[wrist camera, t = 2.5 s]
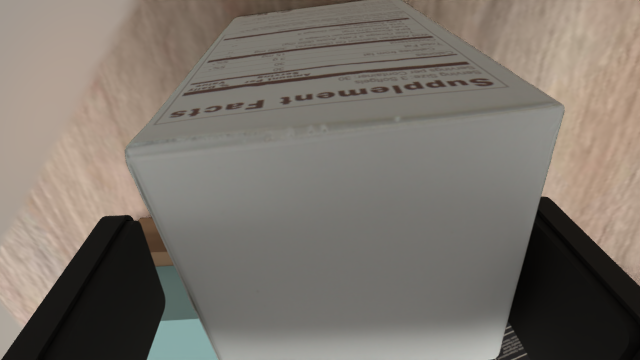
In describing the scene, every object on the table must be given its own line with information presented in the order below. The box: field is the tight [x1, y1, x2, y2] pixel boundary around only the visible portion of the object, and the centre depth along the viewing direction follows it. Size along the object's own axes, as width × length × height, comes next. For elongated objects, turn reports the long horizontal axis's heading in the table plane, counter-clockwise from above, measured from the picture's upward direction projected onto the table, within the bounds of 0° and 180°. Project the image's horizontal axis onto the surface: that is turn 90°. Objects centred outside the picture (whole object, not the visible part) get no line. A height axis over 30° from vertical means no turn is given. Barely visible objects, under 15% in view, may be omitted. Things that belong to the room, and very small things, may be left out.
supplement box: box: [125, 0, 564, 360], centre depth 13 cm, size 7×7×13 cm
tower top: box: [147, 266, 218, 360], centre depth 22 cm, size 10×10×4 cm
